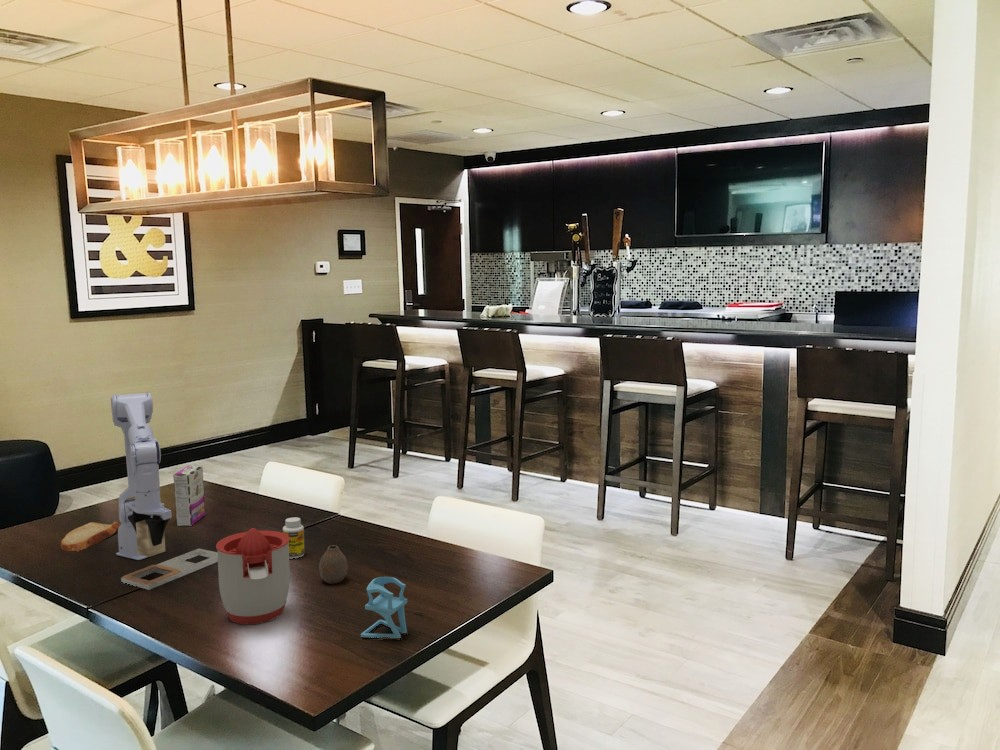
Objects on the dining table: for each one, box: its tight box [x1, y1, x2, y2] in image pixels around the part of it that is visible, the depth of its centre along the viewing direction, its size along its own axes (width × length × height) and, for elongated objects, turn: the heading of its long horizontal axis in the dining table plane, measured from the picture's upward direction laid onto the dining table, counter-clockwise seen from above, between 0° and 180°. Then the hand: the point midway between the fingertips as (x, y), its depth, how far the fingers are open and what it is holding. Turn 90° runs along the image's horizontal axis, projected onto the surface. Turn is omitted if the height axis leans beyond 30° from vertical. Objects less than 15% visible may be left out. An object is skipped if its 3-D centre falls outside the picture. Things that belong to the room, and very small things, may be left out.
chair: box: [360, 576, 408, 639], centre depth 163 cm, size 8×8×12 cm
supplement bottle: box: [282, 516, 305, 560], centre depth 210 cm, size 6×6×10 cm
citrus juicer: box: [215, 527, 291, 626], centre depth 172 cm, size 16×17×20 cm
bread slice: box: [59, 521, 121, 553], centre depth 225 cm, size 18×18×4 cm
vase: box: [318, 544, 349, 585], centre depth 193 cm, size 7×7×9 cm
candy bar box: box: [172, 465, 206, 527], centre depth 240 cm, size 11×5×16 cm, turn 179°
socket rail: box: [120, 548, 218, 591], centre depth 200 cm, size 10×24×2 cm, turn 153°
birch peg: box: [136, 520, 166, 558], centre depth 193 cm, size 4×4×8 cm
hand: (150, 543), depth 193 cm, fingers closed on birch peg, 4 cm apart
